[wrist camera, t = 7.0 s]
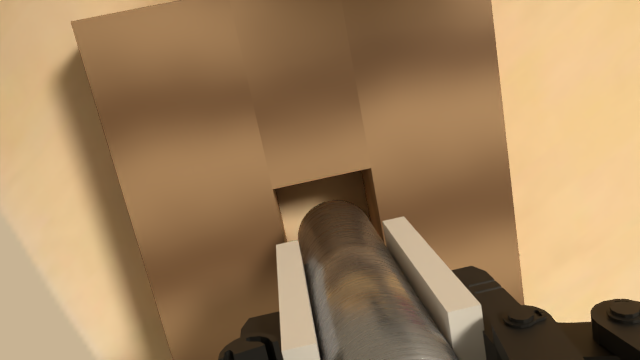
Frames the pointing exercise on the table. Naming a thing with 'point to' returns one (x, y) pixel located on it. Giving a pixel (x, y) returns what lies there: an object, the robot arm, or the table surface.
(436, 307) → the robot arm
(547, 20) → the table surface
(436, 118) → the hole board
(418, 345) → the pin
